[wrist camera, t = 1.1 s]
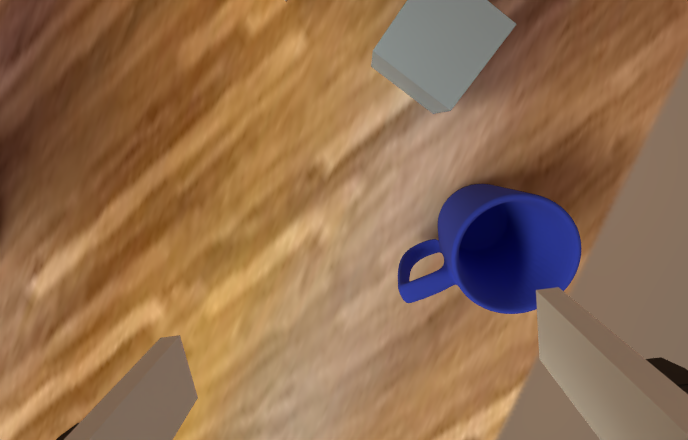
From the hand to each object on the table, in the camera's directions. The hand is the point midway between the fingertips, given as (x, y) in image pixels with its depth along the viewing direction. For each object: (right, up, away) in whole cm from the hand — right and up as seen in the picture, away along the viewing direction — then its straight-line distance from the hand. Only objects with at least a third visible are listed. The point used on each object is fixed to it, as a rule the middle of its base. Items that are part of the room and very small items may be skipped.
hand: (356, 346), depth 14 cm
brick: (+6, +18, +18) cm, 26 cm away
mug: (+9, +4, +21) cm, 23 cm away
